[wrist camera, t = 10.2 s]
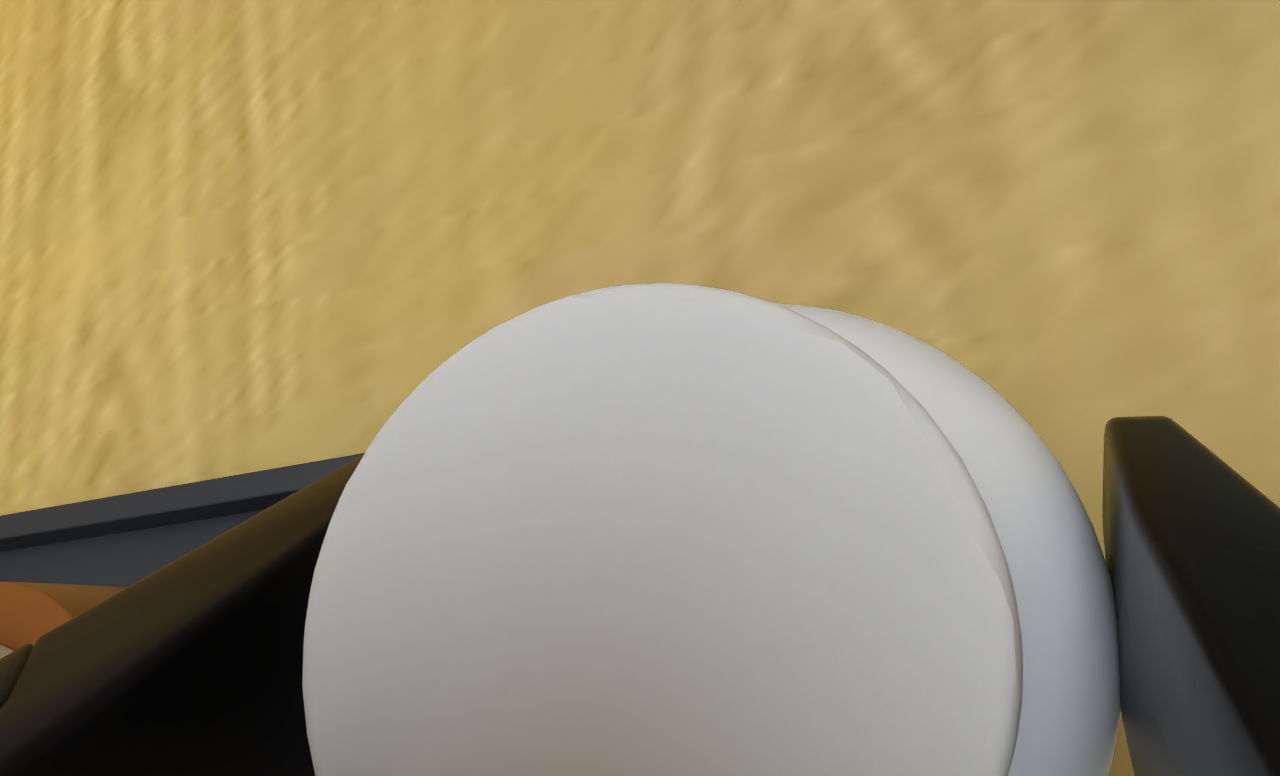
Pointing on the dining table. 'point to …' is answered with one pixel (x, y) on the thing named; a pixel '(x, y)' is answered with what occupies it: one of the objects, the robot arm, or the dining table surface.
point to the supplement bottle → (708, 560)
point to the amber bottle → (42, 609)
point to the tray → (140, 527)
